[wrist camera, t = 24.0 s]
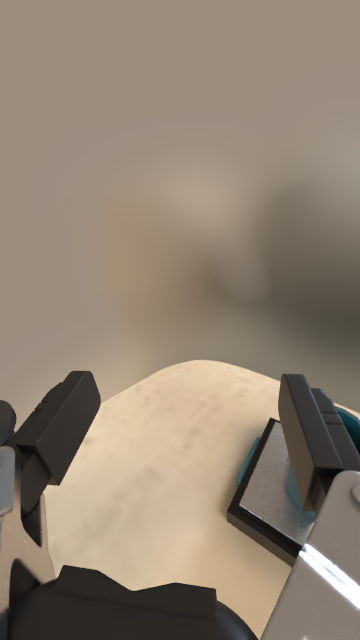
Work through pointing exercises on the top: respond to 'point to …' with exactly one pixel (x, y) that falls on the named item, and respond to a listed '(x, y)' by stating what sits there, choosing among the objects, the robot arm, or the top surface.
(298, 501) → the cup
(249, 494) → the scale
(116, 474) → the top surface
